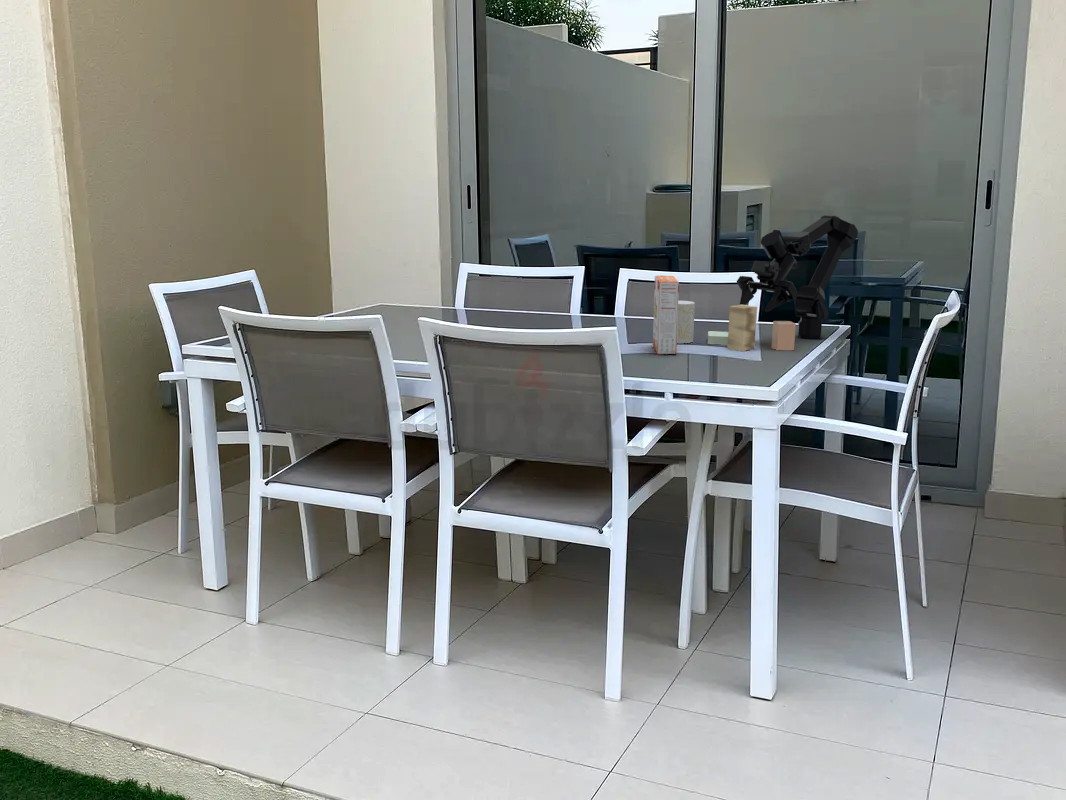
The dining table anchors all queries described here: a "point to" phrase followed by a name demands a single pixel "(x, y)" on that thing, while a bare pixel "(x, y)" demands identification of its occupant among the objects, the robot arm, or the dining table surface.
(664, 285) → the cracker box
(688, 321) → the cup
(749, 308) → the oak block
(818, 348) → the dining table surface
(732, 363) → the dining table surface
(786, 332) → the terracotta block
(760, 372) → the dining table surface
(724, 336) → the sage slab
